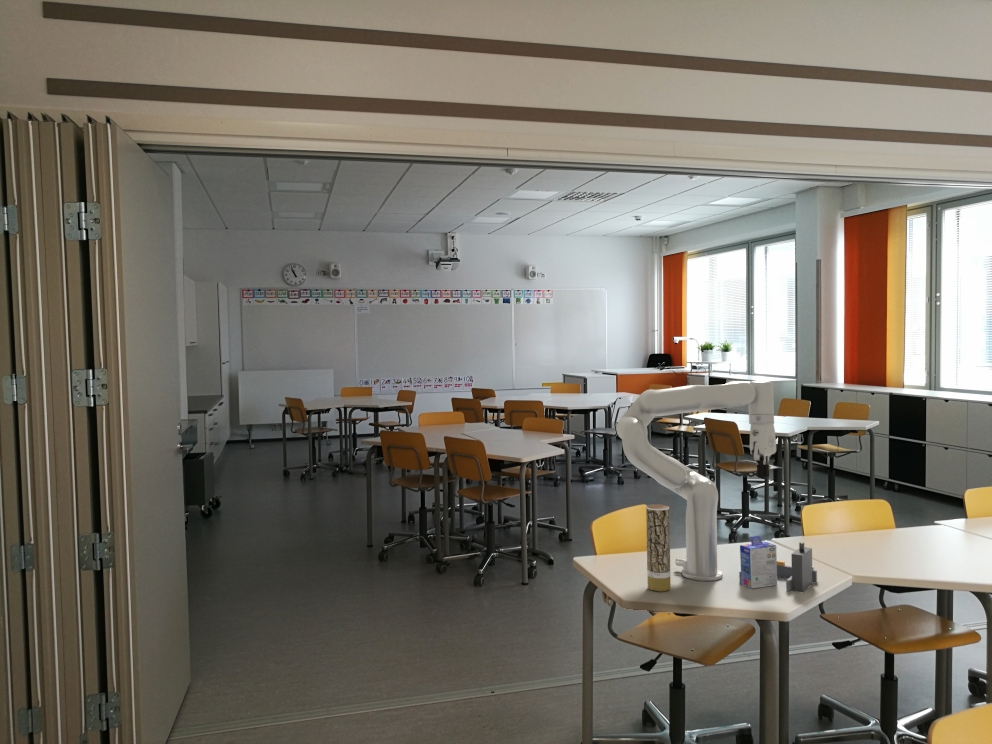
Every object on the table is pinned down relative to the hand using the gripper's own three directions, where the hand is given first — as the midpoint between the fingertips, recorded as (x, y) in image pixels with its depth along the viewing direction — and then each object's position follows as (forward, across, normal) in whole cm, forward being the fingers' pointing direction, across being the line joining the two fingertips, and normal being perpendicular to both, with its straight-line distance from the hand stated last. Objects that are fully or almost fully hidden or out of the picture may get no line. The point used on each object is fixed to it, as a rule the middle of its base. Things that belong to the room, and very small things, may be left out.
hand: (763, 476), depth 228 cm
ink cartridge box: (+32, -12, -3) cm, 34 cm away
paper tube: (+31, -34, +19) cm, 50 cm away
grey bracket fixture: (+31, -6, -6) cm, 33 cm away
